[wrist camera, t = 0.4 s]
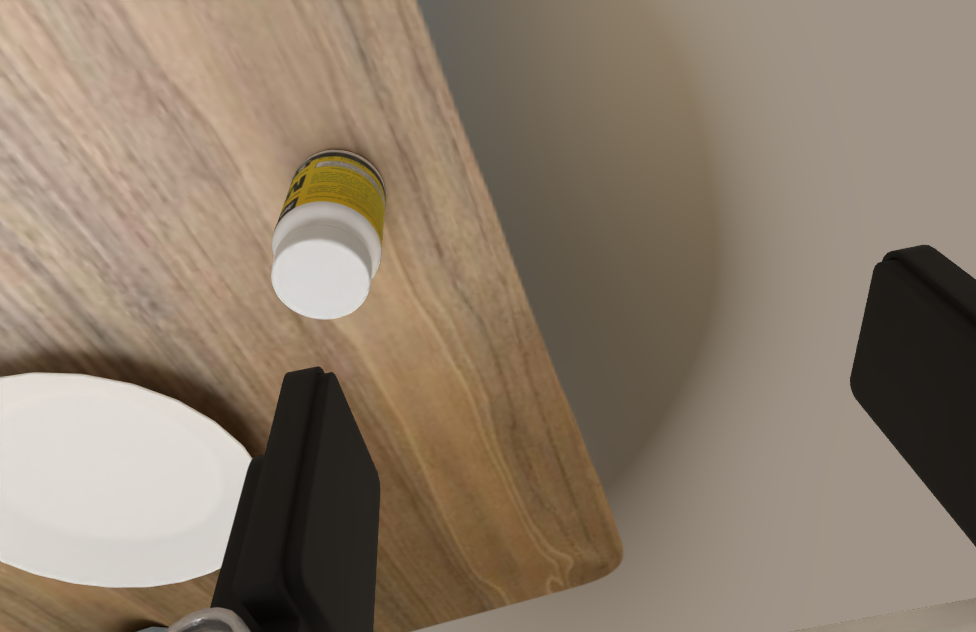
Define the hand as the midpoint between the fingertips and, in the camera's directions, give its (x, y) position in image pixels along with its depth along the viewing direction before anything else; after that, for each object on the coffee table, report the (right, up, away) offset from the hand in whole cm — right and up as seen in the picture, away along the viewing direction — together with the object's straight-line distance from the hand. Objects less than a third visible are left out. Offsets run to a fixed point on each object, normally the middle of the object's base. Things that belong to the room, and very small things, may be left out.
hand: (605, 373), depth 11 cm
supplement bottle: (-10, +8, +22) cm, 25 cm away
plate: (-27, -9, +32) cm, 43 cm away
